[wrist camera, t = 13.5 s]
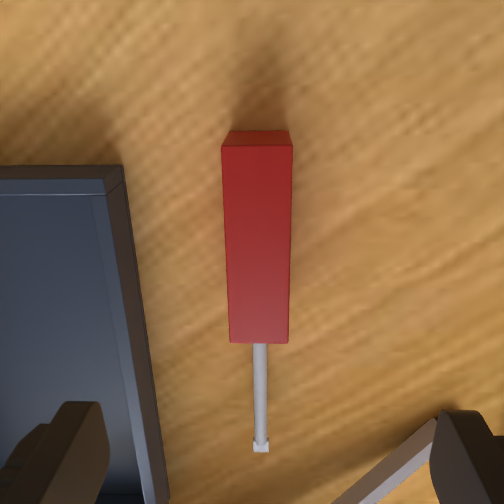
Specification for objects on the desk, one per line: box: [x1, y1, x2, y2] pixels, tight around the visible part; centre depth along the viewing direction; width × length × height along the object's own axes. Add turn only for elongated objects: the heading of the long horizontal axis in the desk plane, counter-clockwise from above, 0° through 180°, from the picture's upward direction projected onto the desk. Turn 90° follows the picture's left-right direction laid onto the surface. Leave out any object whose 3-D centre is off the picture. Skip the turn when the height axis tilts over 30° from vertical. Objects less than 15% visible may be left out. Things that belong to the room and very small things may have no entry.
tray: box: [0, 165, 170, 504], centre depth 26 cm, size 26×14×3 cm, turn 1°
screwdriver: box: [221, 131, 293, 452], centre depth 23 cm, size 20×3×4 cm, turn 1°
